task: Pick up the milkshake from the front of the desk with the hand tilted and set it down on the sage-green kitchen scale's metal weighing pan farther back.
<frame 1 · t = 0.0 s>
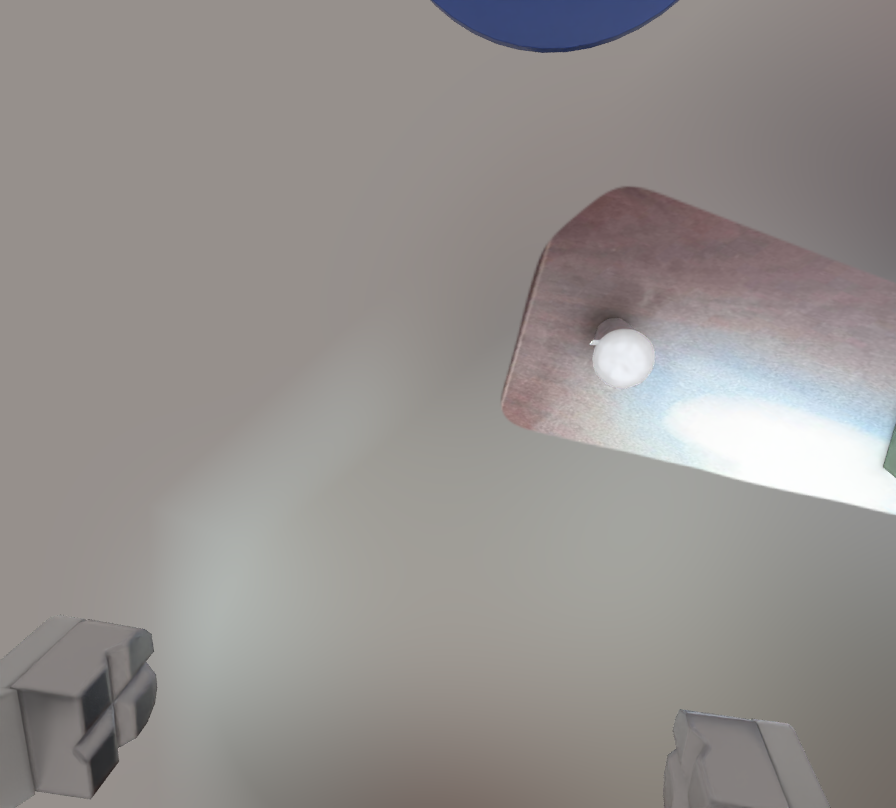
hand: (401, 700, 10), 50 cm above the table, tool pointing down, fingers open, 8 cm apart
milkshake: (609, 332, 58), on the table
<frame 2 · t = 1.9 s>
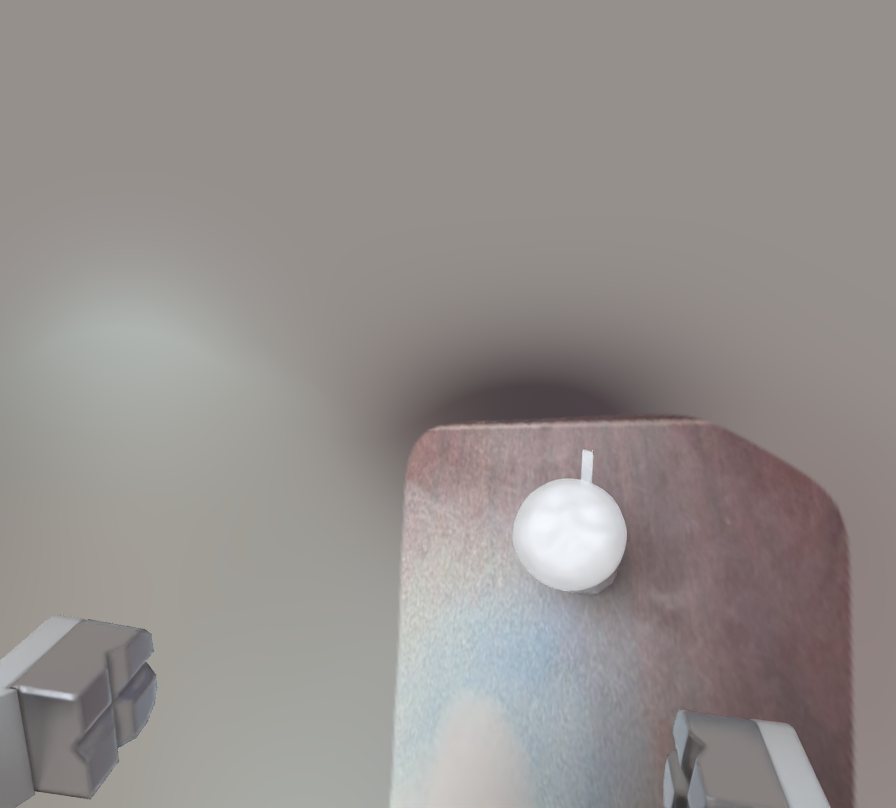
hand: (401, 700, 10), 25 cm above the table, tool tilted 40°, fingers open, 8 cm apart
milkshake: (590, 555, 35), on the table
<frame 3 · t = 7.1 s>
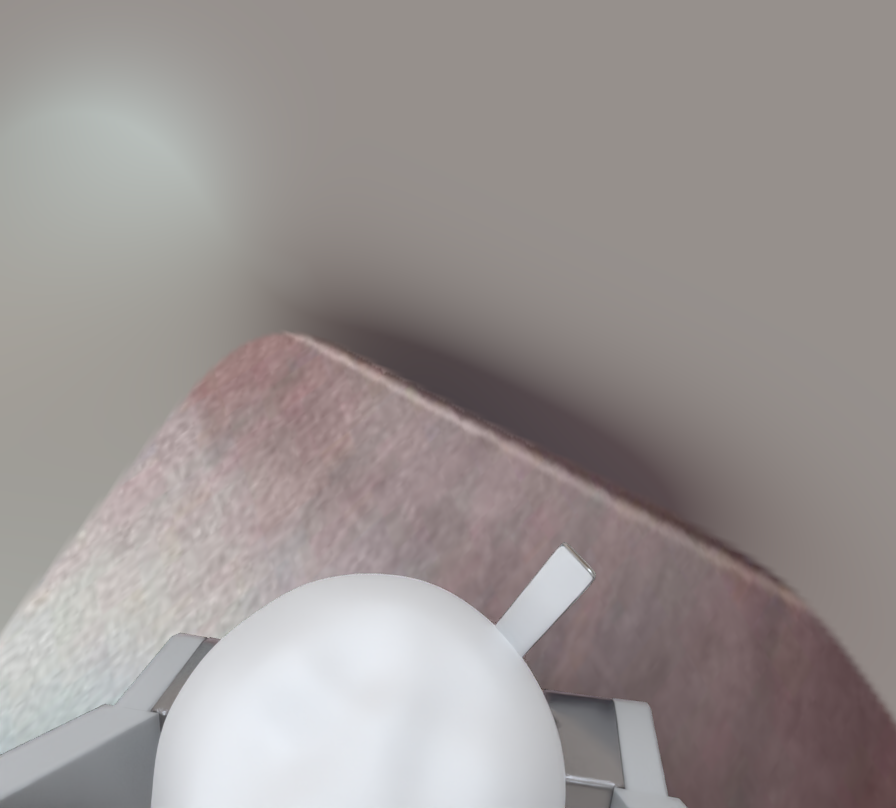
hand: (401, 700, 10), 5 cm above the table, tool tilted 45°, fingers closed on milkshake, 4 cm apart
milkshake: (430, 745, 15), on the table, touching gripper
when the fingers open (9 cm above the table, at t = 15.9 s): milkshake stays where it is, resting on scale.
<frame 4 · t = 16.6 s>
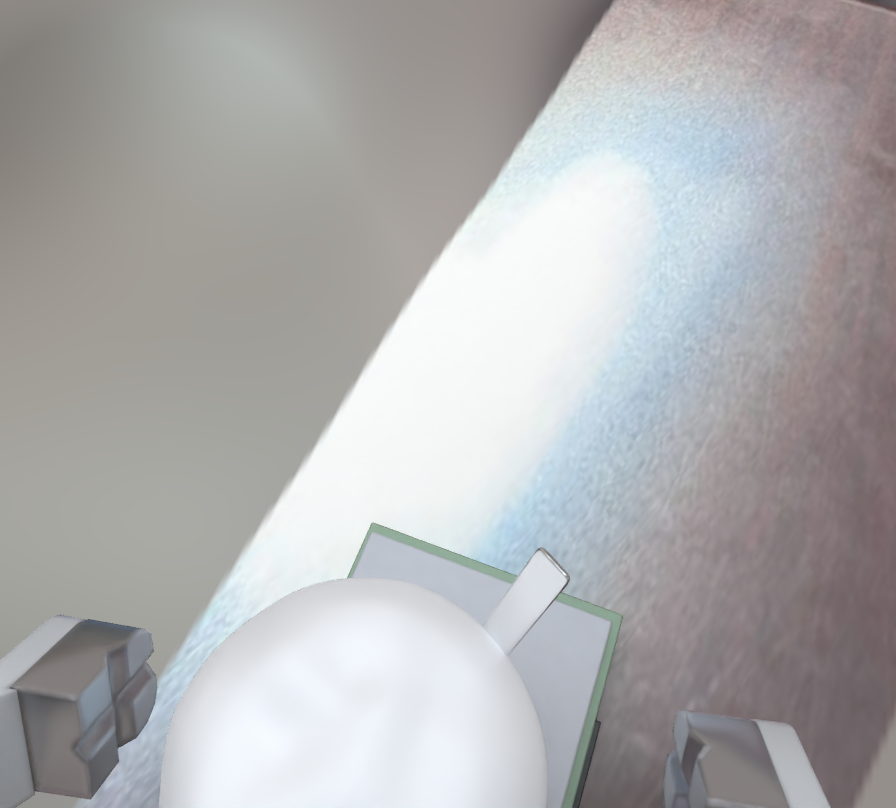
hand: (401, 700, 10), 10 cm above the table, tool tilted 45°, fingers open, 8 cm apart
scale: (437, 745, 19), on the table
milkshake: (432, 745, 15), point 4 cm above the table, touching scale
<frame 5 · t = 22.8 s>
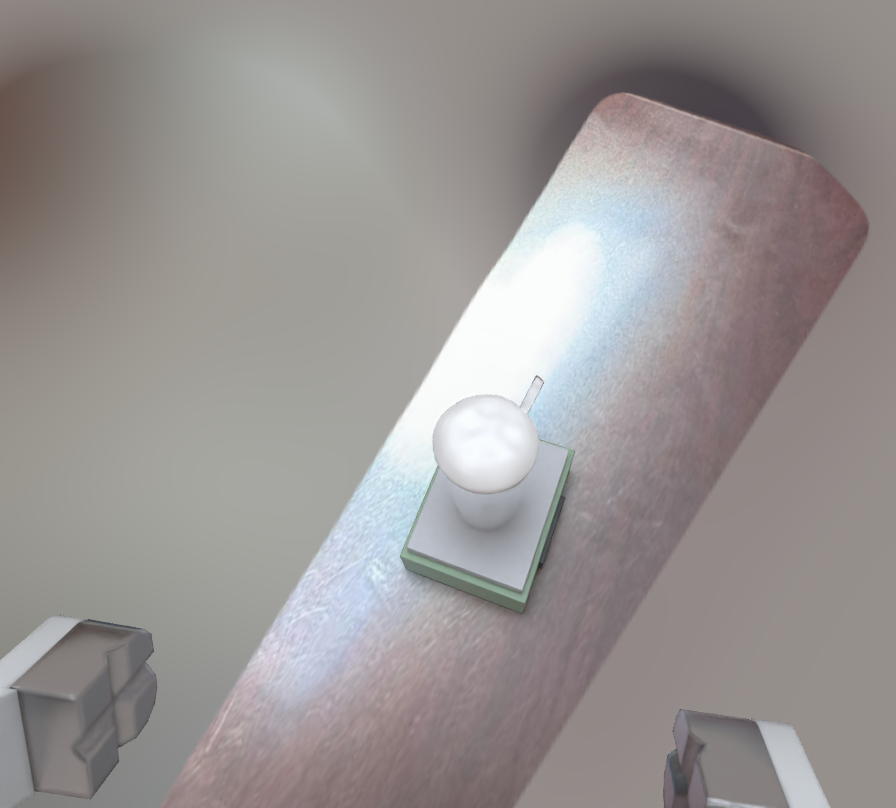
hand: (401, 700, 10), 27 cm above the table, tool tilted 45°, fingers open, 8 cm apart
scale: (489, 518, 40), on the table
milkshake: (492, 498, 36), point 4 cm above the table, touching scale
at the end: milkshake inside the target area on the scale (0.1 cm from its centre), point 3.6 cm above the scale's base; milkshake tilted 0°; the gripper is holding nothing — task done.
